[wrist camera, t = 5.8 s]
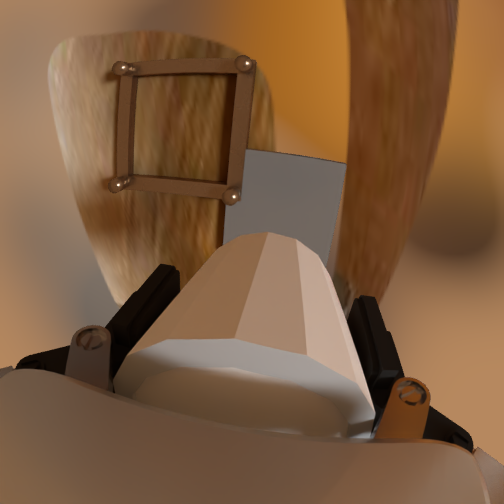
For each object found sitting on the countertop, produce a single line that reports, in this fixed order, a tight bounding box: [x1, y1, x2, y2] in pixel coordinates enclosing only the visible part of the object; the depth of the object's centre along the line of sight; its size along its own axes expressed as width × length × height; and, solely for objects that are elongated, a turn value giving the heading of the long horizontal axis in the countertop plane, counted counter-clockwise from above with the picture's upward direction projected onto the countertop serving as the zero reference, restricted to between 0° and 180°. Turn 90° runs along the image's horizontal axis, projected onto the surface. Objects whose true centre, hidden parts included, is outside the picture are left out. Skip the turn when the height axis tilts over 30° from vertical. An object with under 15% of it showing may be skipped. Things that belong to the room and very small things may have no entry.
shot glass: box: [113, 232, 375, 438], centre depth 10 cm, size 7×7×7 cm
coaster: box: [223, 148, 347, 268], centre depth 24 cm, size 9×9×1 cm
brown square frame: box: [108, 55, 257, 206], centre depth 22 cm, size 11×11×2 cm
